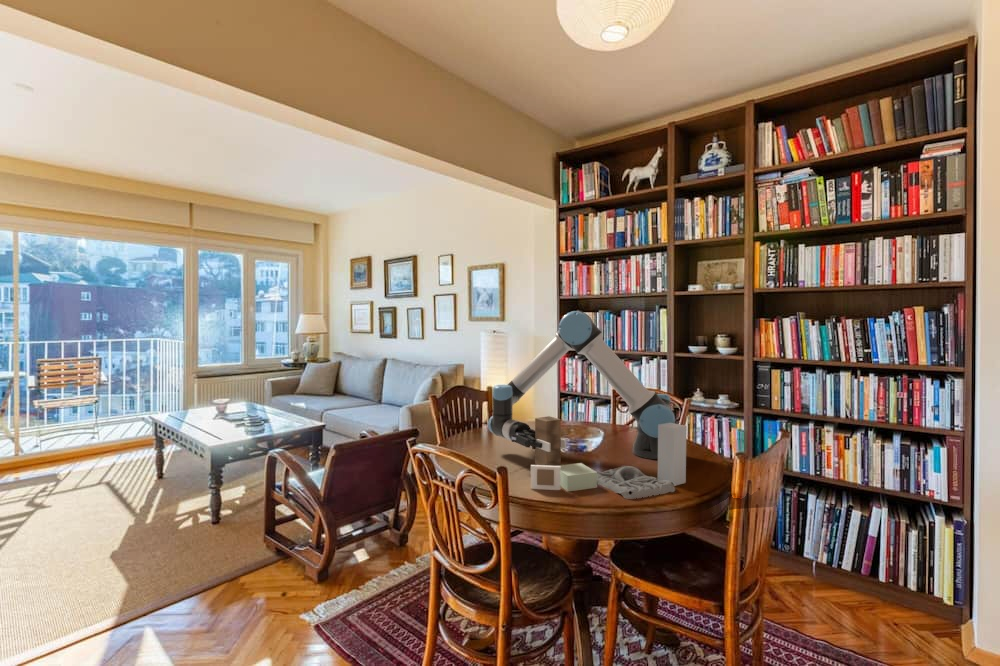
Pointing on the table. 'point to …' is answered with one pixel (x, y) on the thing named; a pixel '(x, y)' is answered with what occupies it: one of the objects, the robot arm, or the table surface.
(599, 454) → the table surface
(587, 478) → the sage base block
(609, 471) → the wall plaque
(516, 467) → the table surface
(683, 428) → the grey plastic block
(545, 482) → the card
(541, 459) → the walnut block
